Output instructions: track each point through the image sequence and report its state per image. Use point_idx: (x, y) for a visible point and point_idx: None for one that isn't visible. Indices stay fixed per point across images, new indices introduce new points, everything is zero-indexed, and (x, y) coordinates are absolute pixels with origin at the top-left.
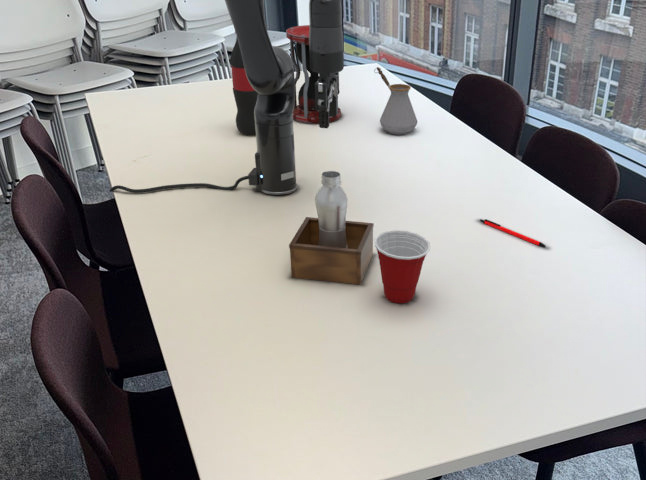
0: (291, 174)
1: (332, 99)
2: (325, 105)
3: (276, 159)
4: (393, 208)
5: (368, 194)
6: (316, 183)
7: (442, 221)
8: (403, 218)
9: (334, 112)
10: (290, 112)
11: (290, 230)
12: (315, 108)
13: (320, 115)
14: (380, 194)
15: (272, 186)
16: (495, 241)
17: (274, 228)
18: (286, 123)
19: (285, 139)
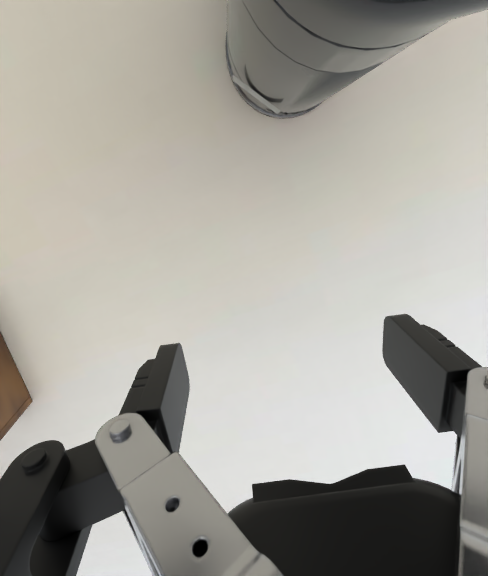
0: (271, 106)
1: (451, 413)
2: (30, 562)
3: (234, 35)
4: (254, 376)
5: (314, 310)
6: (355, 159)
7: (226, 460)
8: (213, 404)
9: (394, 365)
10: (391, 17)
11: (38, 209)
12: (10, 464)
13: (123, 411)
14: (321, 334)
15: (227, 47)
16: None
17: (25, 162)
18: (306, 27)
19: (276, 53)
